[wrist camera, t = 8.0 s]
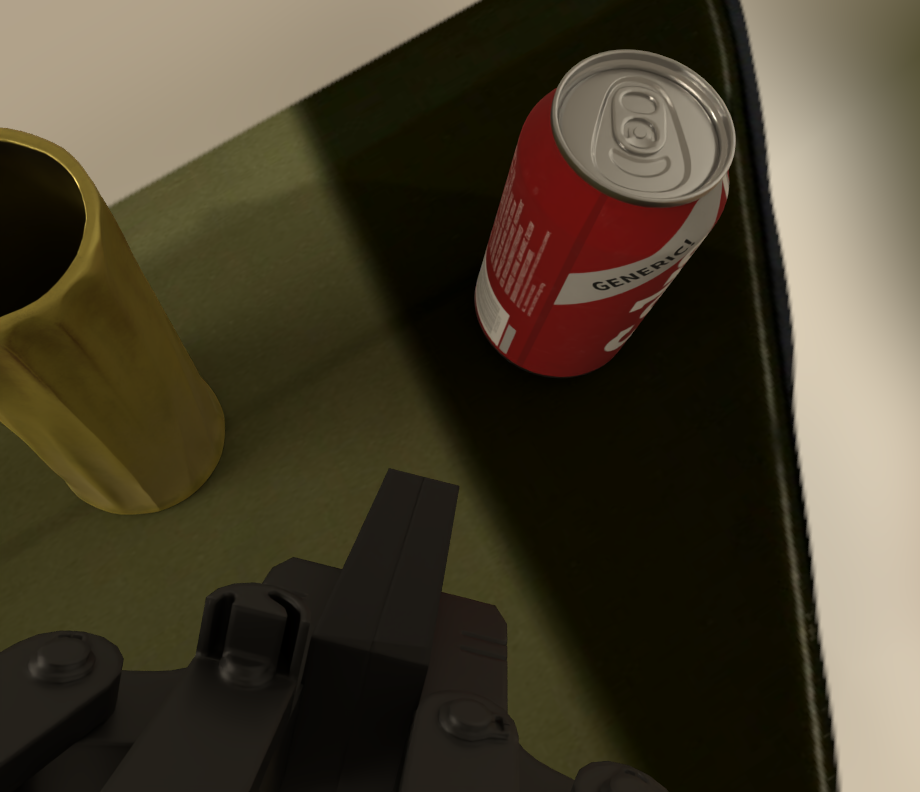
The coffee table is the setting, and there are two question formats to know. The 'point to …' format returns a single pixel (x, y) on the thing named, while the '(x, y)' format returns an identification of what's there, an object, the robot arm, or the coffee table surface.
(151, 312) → the vase
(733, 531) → the coffee table surface
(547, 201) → the soda can
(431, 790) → the robot arm
